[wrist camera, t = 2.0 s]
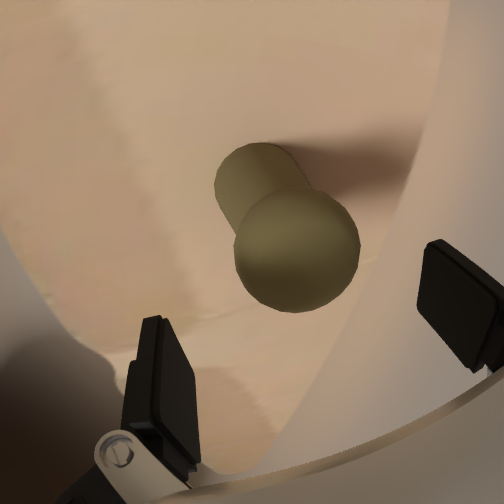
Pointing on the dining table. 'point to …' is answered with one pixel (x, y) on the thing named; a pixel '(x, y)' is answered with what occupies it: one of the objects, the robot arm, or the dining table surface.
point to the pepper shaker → (285, 230)
